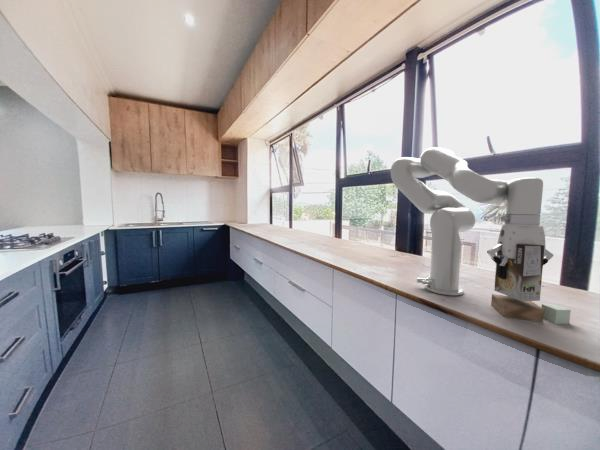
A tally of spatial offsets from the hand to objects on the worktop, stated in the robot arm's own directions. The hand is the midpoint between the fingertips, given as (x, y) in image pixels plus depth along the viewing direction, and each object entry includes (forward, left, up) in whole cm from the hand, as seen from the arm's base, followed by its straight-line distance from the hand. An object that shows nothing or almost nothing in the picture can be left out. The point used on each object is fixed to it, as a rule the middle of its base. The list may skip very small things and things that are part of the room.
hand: (517, 278), depth 73 cm
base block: (0, 0, -11) cm, 11 cm away
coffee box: (0, 0, -5) cm, 5 cm away
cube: (+8, -3, -11) cm, 14 cm away
